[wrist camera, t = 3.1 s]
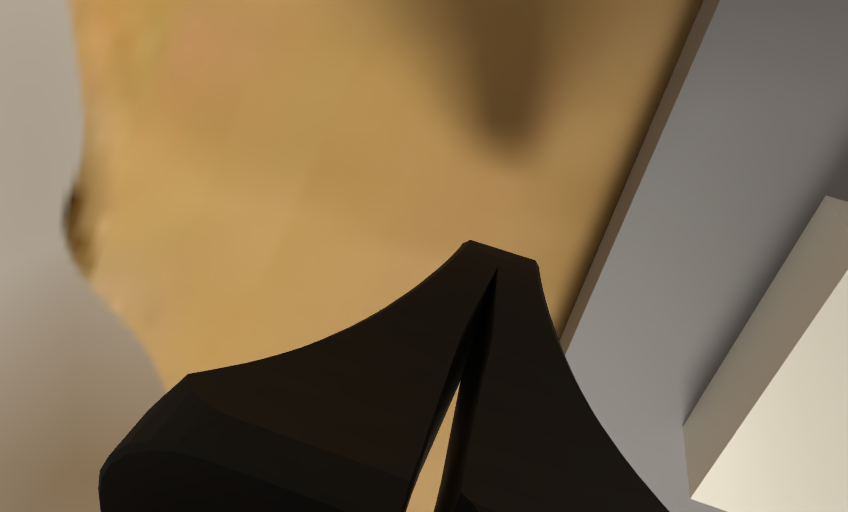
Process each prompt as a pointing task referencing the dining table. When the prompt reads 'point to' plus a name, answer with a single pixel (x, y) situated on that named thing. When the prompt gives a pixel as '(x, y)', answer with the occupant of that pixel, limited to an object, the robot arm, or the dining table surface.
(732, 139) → the grey flat slab
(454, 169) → the dining table surface
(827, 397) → the tile
